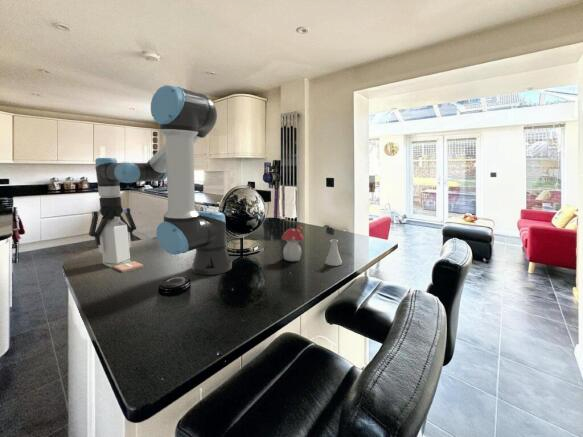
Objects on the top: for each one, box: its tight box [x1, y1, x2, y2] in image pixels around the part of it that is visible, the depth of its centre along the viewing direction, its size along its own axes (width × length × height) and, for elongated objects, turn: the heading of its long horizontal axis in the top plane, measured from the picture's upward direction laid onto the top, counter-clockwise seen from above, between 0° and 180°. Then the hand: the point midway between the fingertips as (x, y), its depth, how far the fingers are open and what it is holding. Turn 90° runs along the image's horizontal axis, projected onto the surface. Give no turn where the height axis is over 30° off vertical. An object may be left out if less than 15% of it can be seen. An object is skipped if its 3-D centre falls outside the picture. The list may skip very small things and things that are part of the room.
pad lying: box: [113, 260, 144, 273], centre depth 120 cm, size 8×8×1 cm
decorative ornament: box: [281, 225, 304, 262], centre depth 128 cm, size 9×7×15 cm
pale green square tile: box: [102, 259, 132, 268], centre depth 125 cm, size 8×8×1 cm
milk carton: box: [100, 217, 131, 264], centre depth 123 cm, size 7×7×19 cm
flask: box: [324, 239, 343, 267], centre depth 123 cm, size 7×7×10 cm
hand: (115, 249), depth 124 cm, fingers open, 10 cm apart
